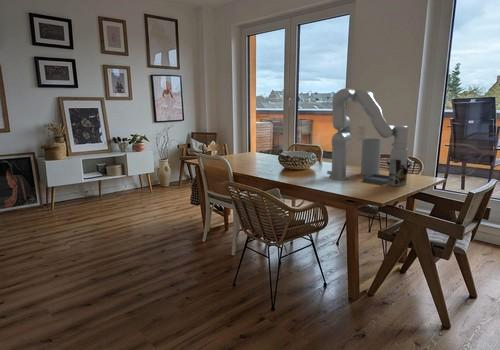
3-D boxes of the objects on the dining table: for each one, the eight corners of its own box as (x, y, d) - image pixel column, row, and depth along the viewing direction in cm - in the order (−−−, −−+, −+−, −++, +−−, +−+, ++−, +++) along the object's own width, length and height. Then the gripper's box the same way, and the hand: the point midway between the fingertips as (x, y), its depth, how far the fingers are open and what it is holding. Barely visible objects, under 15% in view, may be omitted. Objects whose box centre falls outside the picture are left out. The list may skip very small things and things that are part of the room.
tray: (362, 181, 228) (362, 177, 227) (373, 177, 239) (373, 173, 238) (384, 184, 218) (384, 181, 217) (394, 180, 229) (394, 176, 228)
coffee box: (395, 186, 213) (397, 160, 210) (387, 184, 219) (389, 159, 216) (406, 184, 217) (408, 159, 213) (398, 182, 223) (400, 157, 219)
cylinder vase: (359, 175, 244) (360, 140, 239) (362, 172, 255) (364, 138, 250) (377, 177, 239) (380, 141, 233) (380, 173, 249) (382, 138, 244)
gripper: (383, 145, 216) (381, 172, 220) (412, 147, 204) (410, 176, 208) (388, 144, 221) (387, 170, 225) (417, 146, 209) (414, 174, 213)
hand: (398, 173), depth 216 cm, fingers closed on coffee box, 8 cm apart
